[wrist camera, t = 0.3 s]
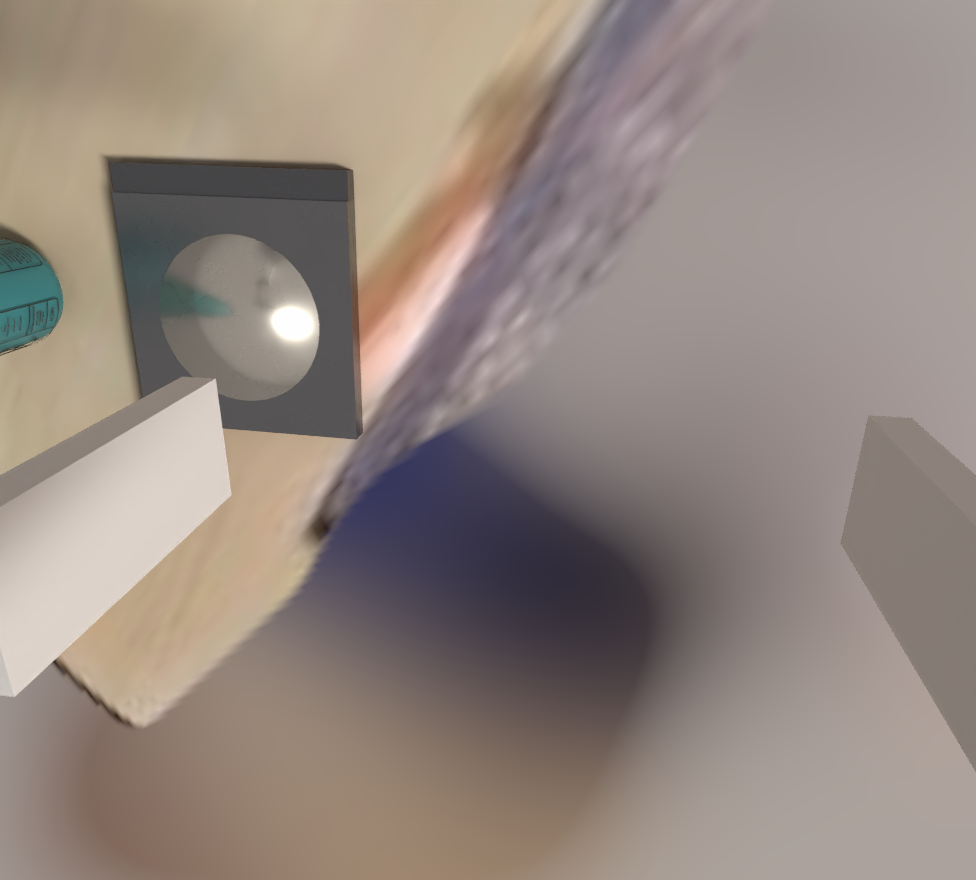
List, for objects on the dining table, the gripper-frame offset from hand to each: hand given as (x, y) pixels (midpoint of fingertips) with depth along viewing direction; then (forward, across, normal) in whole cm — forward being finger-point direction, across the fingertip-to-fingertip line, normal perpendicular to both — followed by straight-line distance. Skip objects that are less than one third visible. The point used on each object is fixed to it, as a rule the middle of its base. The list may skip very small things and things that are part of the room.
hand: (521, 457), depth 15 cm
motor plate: (+28, -20, -4) cm, 34 cm away
